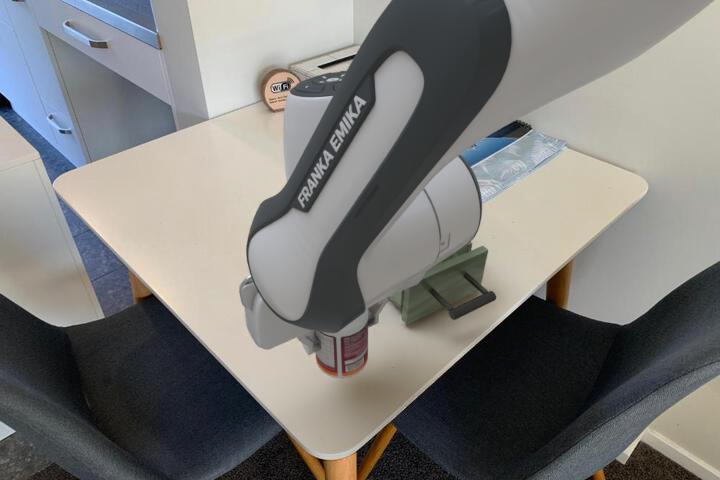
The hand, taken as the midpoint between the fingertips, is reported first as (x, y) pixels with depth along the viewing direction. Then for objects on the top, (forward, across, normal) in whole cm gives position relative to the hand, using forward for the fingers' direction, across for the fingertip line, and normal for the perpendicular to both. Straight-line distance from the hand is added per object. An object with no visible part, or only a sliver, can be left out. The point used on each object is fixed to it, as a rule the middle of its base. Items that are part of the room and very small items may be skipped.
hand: (341, 335), depth 59 cm
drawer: (+9, +19, +8) cm, 22 cm away
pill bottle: (+4, 0, 0) cm, 4 cm away
